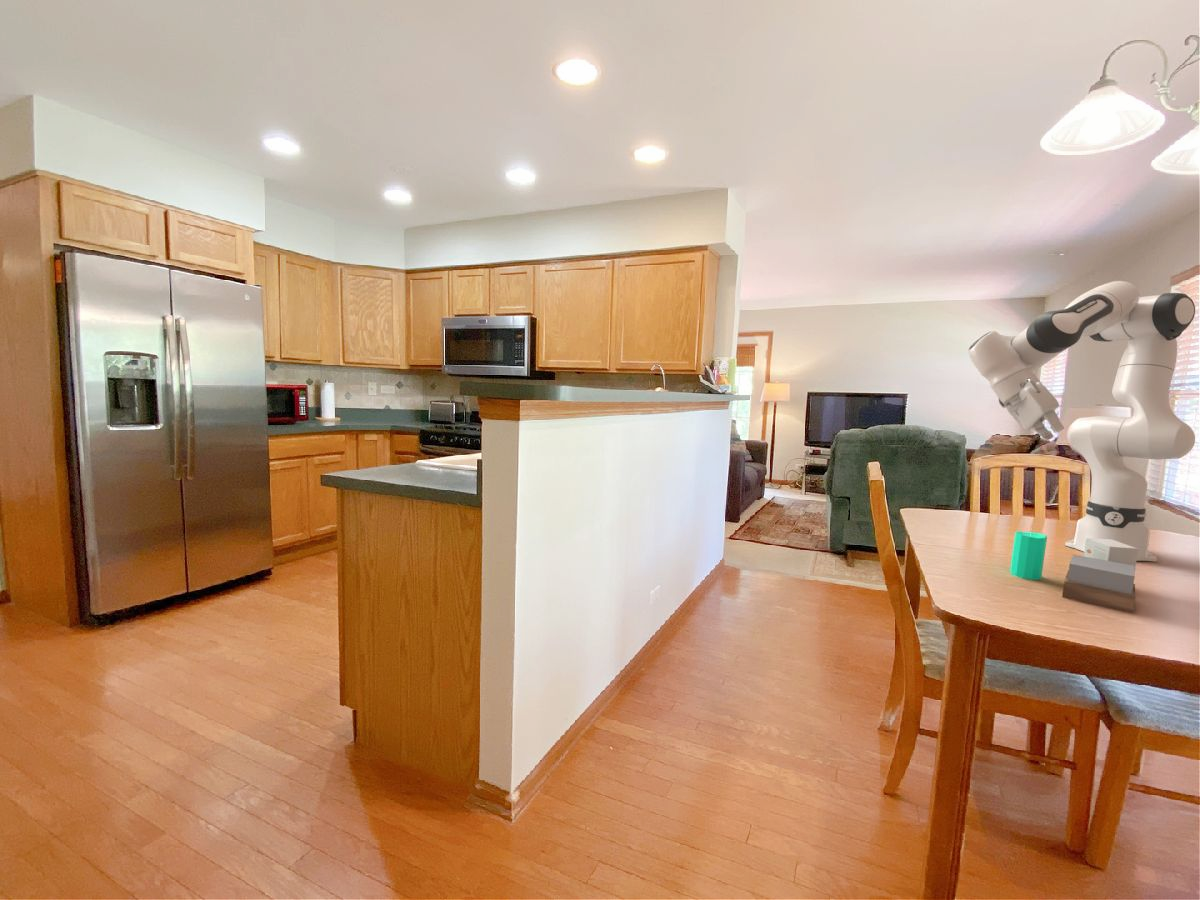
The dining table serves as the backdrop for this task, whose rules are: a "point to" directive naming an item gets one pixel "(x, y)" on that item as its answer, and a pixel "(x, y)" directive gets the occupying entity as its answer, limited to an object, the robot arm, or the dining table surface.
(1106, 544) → the small box
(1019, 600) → the dining table surface
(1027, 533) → the candle
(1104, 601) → the tower base
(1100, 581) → the tower top
